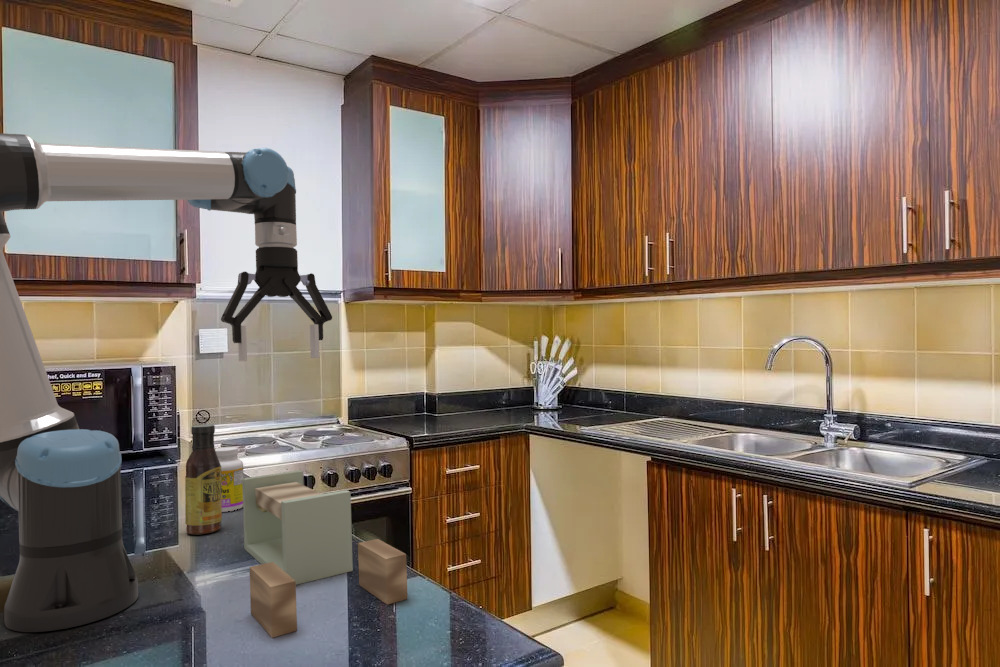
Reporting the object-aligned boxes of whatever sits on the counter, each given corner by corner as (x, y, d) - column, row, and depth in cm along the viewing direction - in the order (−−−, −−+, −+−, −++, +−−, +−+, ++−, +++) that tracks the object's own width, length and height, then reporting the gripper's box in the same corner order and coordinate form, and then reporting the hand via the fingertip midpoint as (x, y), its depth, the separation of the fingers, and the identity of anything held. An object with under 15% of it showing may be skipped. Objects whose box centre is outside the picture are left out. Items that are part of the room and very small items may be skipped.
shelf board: (255, 503, 112) (255, 488, 112) (296, 496, 116) (296, 481, 116) (290, 525, 97) (289, 508, 97) (335, 516, 101) (335, 500, 101)
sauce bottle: (208, 536, 121) (205, 428, 121) (178, 535, 122) (175, 428, 122) (229, 526, 127) (227, 423, 127) (201, 525, 128) (198, 423, 129)
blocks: (271, 637, 78) (270, 587, 78) (250, 613, 86) (249, 567, 86) (407, 598, 89) (406, 554, 89) (378, 580, 96) (377, 538, 96)
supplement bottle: (203, 512, 139) (201, 450, 139) (226, 504, 145) (224, 445, 145) (229, 513, 137) (227, 451, 137) (251, 505, 143) (249, 446, 143)
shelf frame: (352, 570, 100) (350, 491, 101) (286, 587, 95) (284, 503, 95) (302, 537, 119) (300, 470, 119) (244, 548, 113) (242, 478, 113)
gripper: (210, 241, 115) (214, 363, 115) (346, 248, 130) (350, 356, 130) (201, 247, 122) (205, 362, 122) (332, 253, 136) (335, 356, 136)
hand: (280, 359), depth 126 cm, fingers open, 13 cm apart
